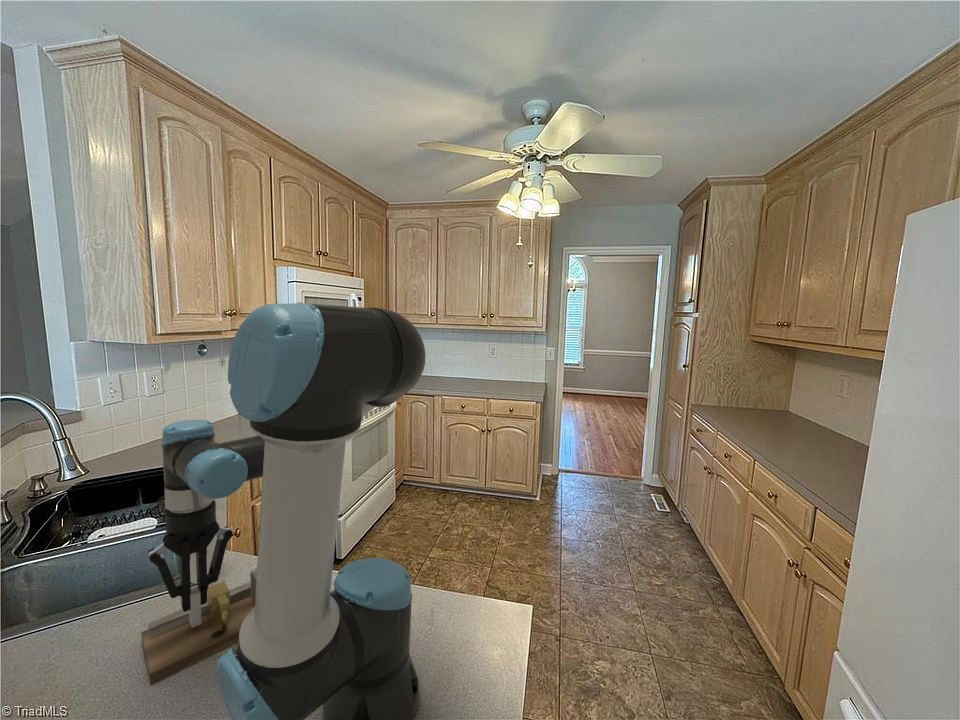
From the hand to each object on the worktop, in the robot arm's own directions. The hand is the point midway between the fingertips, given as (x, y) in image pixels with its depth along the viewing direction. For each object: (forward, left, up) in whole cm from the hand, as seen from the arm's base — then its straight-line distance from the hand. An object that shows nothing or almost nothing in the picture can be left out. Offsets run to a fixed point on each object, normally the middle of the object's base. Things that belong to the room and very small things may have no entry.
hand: (195, 621), depth 75 cm
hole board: (0, -5, -3) cm, 6 cm away
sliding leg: (-1, -4, -1) cm, 4 cm away
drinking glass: (+20, -5, -4) cm, 20 cm away
